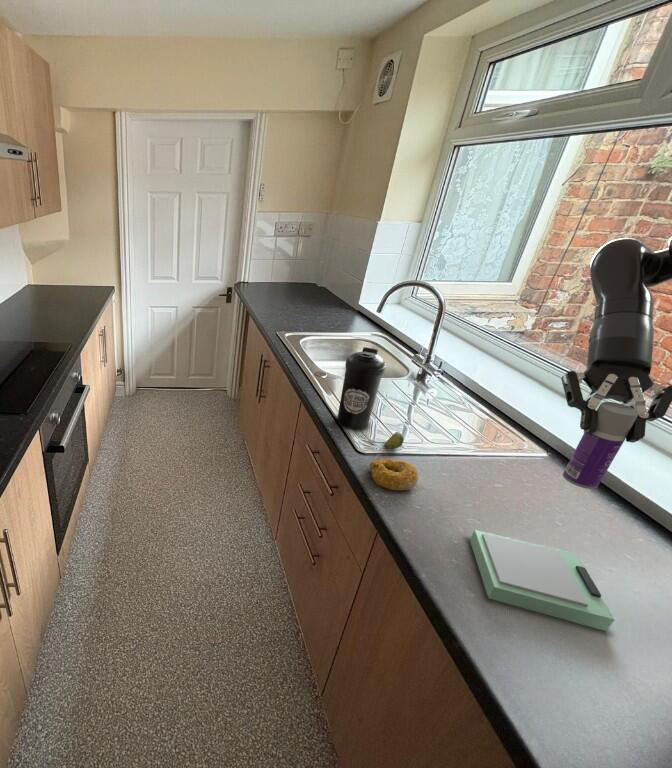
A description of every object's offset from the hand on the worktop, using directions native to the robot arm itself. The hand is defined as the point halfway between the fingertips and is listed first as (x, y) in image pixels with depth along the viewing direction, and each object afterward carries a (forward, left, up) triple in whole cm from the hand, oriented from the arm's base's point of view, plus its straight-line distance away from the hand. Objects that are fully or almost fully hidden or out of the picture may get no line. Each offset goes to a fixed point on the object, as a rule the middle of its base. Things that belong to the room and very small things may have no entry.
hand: (610, 436), depth 68 cm
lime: (+24, -29, -28) cm, 47 cm away
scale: (+4, +8, -28) cm, 29 cm away
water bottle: (+34, -39, -28) cm, 59 cm away
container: (0, -2, -11) cm, 11 cm away
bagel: (+26, -14, -28) cm, 41 cm away
